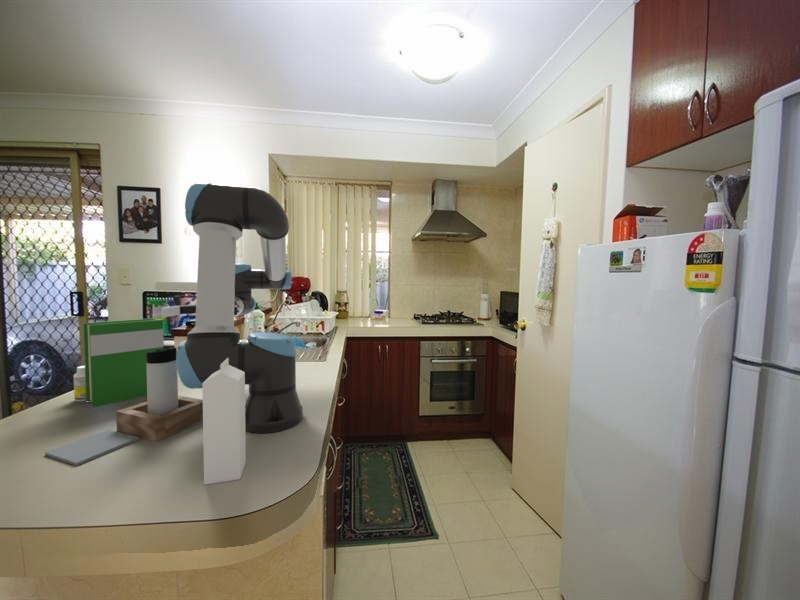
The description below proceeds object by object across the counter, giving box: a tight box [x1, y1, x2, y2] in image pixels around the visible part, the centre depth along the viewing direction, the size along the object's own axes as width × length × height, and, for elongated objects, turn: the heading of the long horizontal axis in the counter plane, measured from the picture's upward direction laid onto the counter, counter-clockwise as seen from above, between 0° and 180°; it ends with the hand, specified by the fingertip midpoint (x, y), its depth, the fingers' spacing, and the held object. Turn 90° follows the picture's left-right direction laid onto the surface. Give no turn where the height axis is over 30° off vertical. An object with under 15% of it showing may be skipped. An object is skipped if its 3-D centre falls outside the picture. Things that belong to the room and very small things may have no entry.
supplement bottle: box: [73, 364, 86, 402], centre depth 97 cm, size 6×6×10 cm
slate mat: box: [44, 429, 139, 466], centre depth 70 cm, size 11×11×1 cm
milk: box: [201, 358, 247, 485], centre depth 60 cm, size 6×6×22 cm
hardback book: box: [82, 317, 165, 408], centre depth 100 cm, size 18×7×24 cm, turn 145°
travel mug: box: [146, 347, 179, 415], centre depth 80 cm, size 6×7×20 cm
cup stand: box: [115, 394, 203, 442], centre depth 81 cm, size 14×13×5 cm
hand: (186, 312), depth 89 cm, fingers open, 13 cm apart
